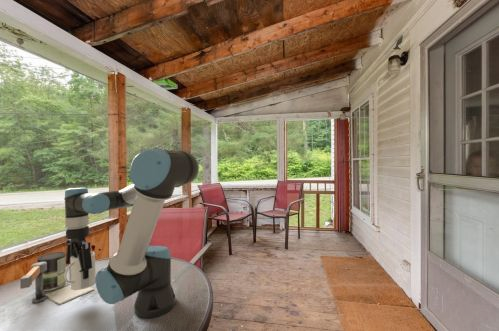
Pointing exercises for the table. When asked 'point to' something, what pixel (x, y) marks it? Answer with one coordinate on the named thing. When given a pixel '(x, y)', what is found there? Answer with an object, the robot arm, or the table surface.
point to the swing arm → (32, 274)
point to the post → (39, 289)
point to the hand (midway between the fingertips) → (79, 284)
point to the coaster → (67, 294)
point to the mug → (76, 274)
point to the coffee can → (53, 270)
